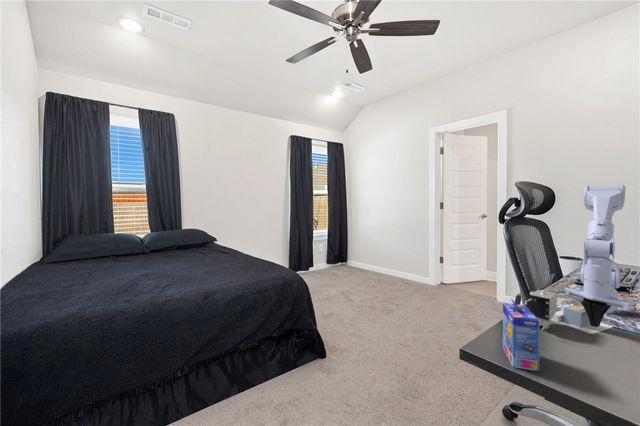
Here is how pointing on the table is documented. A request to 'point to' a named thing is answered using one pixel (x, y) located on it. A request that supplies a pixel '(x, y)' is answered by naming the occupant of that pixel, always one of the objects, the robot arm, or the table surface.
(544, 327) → the pneumatic valve
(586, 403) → the table surface
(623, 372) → the table surface
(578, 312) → the block
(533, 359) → the ink cartridge box
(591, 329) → the rail board
